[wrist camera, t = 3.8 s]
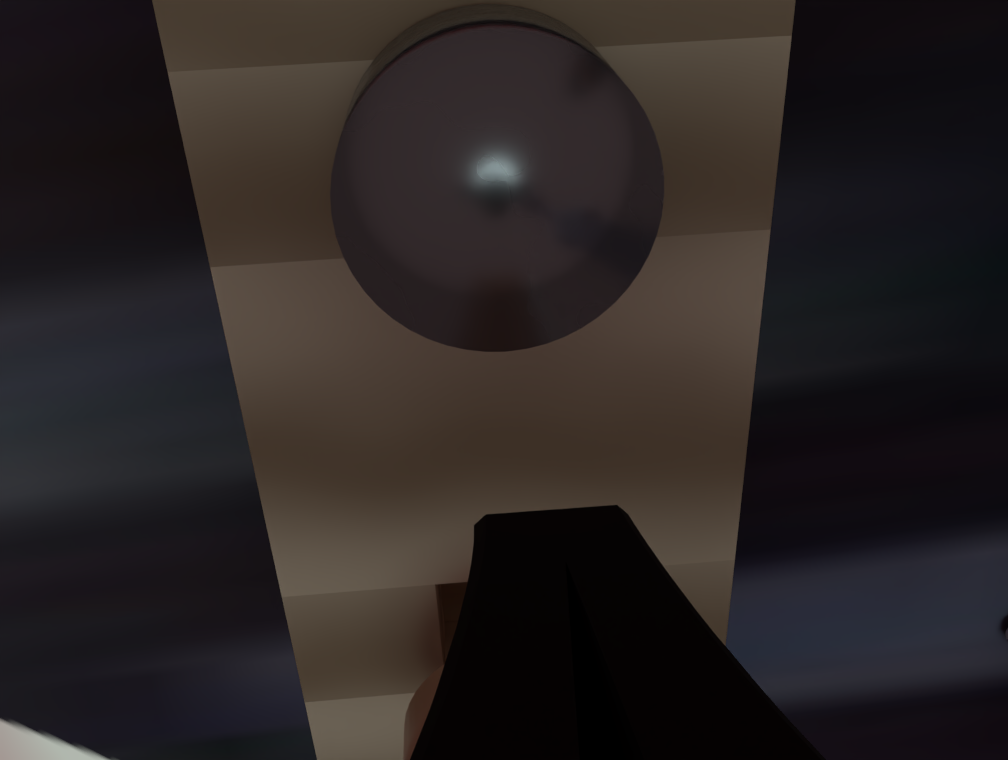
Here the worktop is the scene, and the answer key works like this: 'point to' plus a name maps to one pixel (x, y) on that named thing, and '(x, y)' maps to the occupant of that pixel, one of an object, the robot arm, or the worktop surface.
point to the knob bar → (466, 373)
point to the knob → (495, 180)
